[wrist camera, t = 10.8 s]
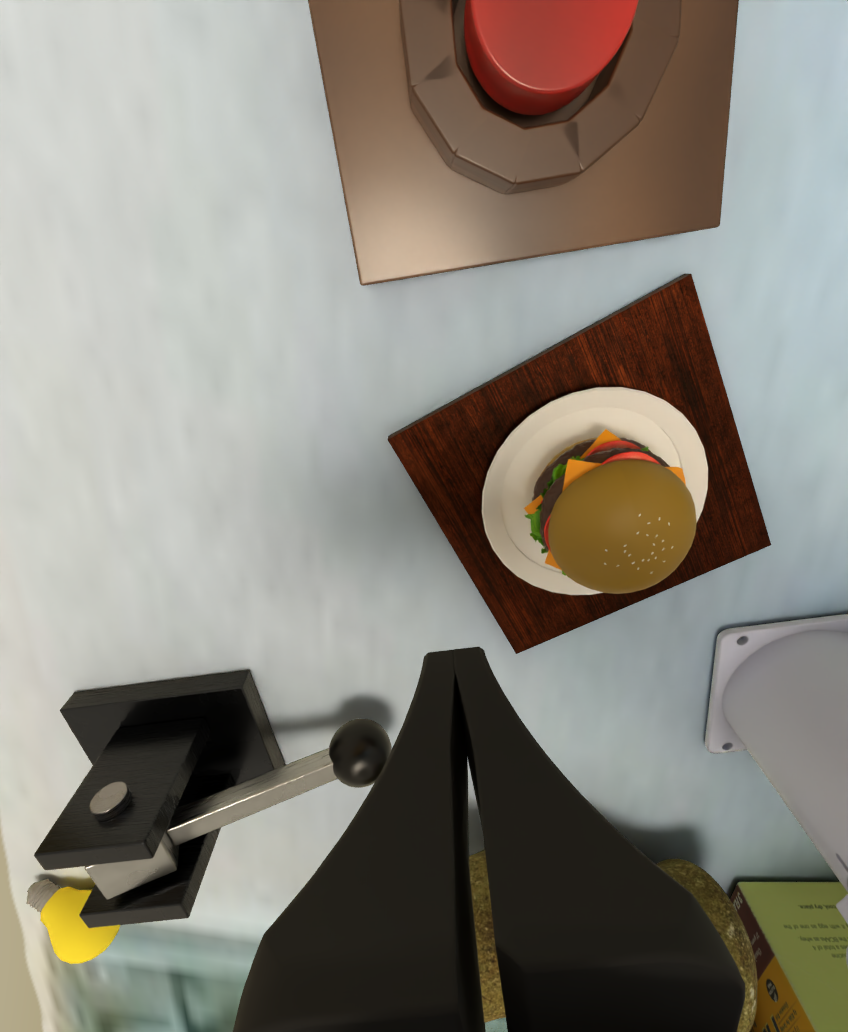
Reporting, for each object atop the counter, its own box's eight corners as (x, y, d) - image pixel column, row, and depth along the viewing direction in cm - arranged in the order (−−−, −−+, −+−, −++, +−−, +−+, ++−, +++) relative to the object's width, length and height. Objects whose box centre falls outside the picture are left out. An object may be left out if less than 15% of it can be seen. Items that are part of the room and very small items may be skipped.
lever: (376, 696, 26) (393, 740, 23) (386, 739, 27) (404, 785, 24) (94, 804, 22) (77, 869, 20) (121, 847, 24) (108, 914, 21)
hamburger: (514, 647, 25) (539, 741, 20) (388, 436, 20) (378, 488, 15) (764, 540, 22) (864, 614, 17) (684, 274, 18) (788, 272, 13)
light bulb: (140, 897, 32) (126, 928, 33) (62, 845, 32) (50, 878, 33) (95, 956, 29) (81, 988, 30) (9, 897, 29) (-2, 931, 30)
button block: (711, -207, 13) (824, -393, 10) (685, 232, 17) (757, 220, 14) (293, -121, 14) (250, -264, 10) (366, 285, 18) (354, 286, 14)
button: (614, -96, 11) (646, -157, 10) (613, 102, 13) (641, 78, 11) (454, -65, 12) (460, -120, 10) (471, 128, 13) (479, 107, 12)
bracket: (249, 669, 25) (189, 809, 18) (291, 780, 28) (253, 932, 22) (74, 692, 25) (-47, 837, 19) (135, 798, 29) (52, 953, 22)
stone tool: (682, 944, 33) (713, 806, 31) (786, 1131, 24) (837, 953, 23) (367, 929, 32) (384, 784, 30) (356, 1124, 23) (379, 932, 21)
